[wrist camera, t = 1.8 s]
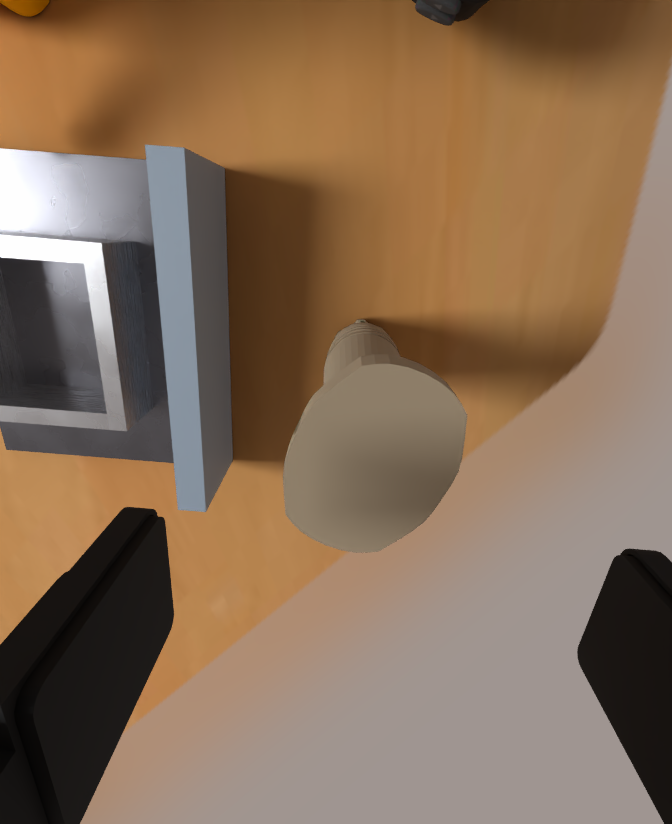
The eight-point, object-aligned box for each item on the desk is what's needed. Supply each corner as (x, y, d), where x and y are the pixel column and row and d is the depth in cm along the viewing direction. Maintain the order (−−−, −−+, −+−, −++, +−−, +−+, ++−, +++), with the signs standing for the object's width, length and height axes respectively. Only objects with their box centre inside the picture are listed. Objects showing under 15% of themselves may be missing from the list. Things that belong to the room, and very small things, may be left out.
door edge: (195, 165, 23) (144, 144, 17) (224, 168, 23) (184, 147, 17) (210, 458, 30) (178, 509, 24) (232, 460, 30) (205, 511, 24)
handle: (420, 313, 25) (502, 410, 12) (372, 403, 28) (392, 571, 14) (348, 277, 25) (343, 335, 11) (304, 372, 27) (256, 517, 13)
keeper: (-58, 146, 23) (-149, 127, 19) (163, 163, 23) (121, 148, 19) (16, 442, 30) (-37, 476, 26) (186, 456, 30) (159, 492, 26)
